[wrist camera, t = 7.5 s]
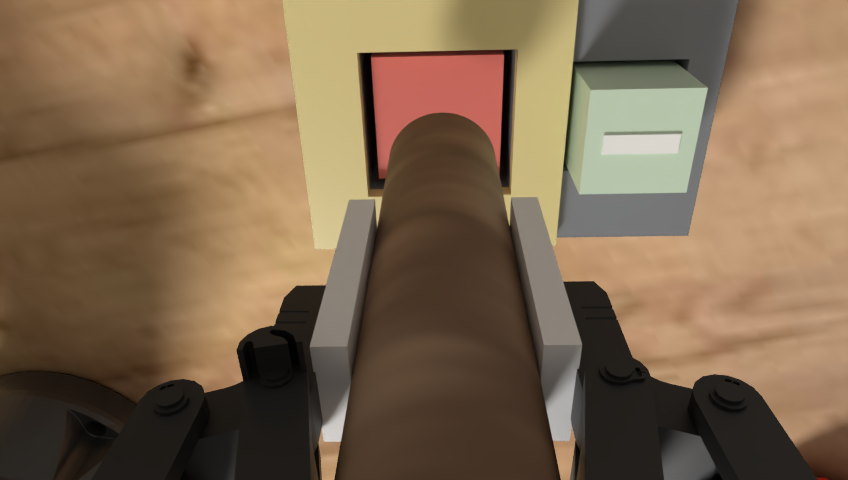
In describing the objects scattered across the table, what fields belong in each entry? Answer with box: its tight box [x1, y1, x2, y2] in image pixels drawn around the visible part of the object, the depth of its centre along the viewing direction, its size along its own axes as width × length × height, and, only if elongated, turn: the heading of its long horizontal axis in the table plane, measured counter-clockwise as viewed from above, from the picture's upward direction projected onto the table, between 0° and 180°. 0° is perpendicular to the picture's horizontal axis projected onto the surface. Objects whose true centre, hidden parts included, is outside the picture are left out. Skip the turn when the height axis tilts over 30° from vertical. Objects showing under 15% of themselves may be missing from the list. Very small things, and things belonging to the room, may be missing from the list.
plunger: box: [371, 50, 504, 179], centre depth 29 cm, size 6×6×2 cm
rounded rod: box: [335, 112, 561, 480], centre depth 17 cm, size 4×4×16 cm
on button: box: [564, 60, 708, 194], centre depth 27 cm, size 4×4×4 cm
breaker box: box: [282, 0, 739, 249], centre depth 30 cm, size 18×12×7 cm, turn 91°
